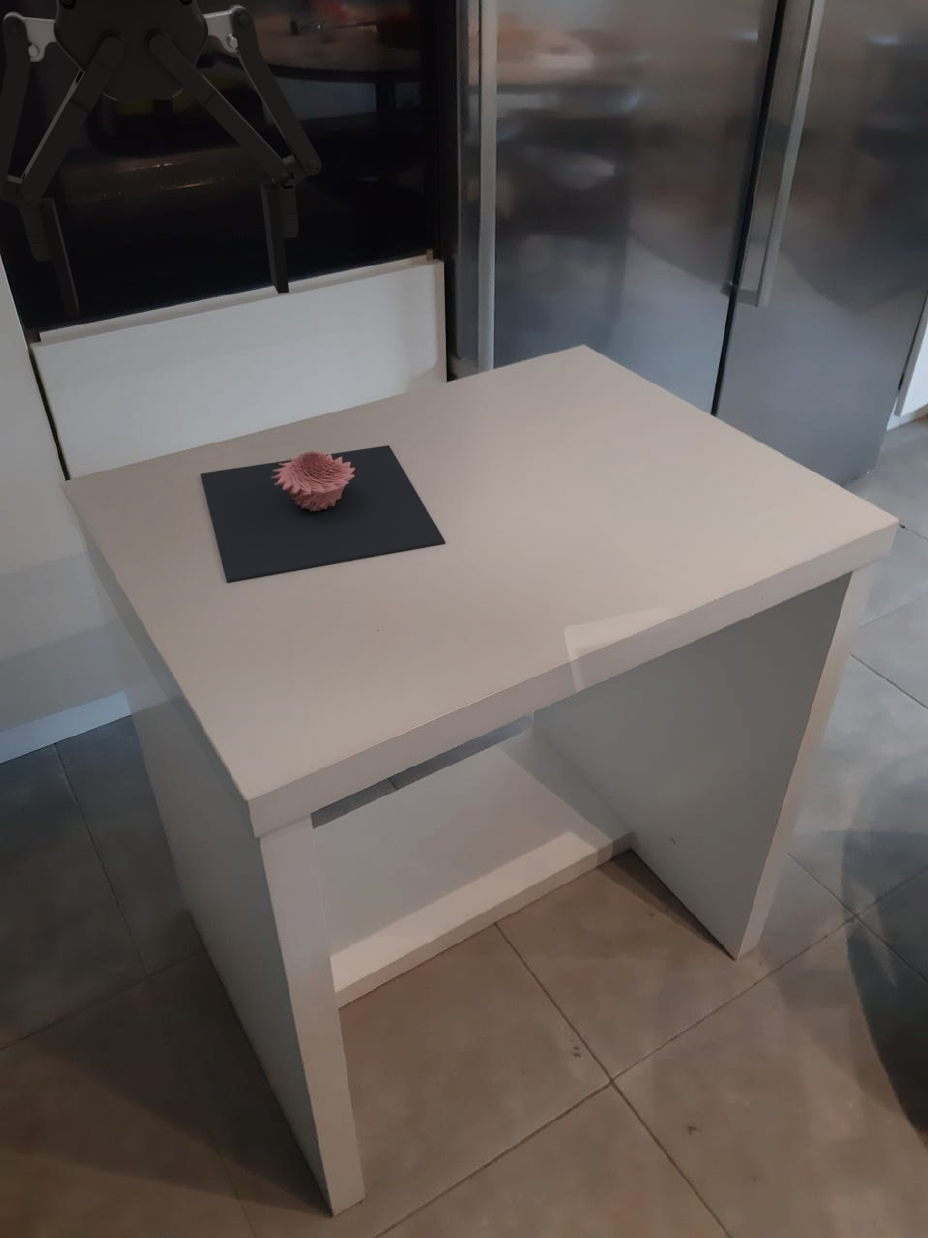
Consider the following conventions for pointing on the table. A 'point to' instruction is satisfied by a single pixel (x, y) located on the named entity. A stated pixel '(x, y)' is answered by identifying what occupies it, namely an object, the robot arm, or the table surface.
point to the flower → (314, 479)
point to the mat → (315, 517)
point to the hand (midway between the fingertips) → (179, 298)
